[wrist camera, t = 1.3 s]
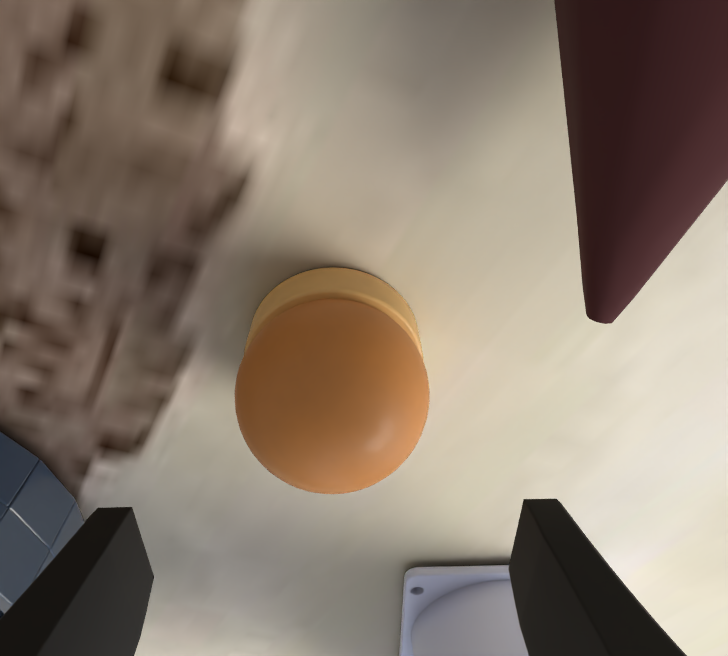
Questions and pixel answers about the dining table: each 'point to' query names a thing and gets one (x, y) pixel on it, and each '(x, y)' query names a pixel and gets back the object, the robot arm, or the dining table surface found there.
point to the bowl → (30, 519)
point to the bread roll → (332, 381)
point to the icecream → (641, 132)
